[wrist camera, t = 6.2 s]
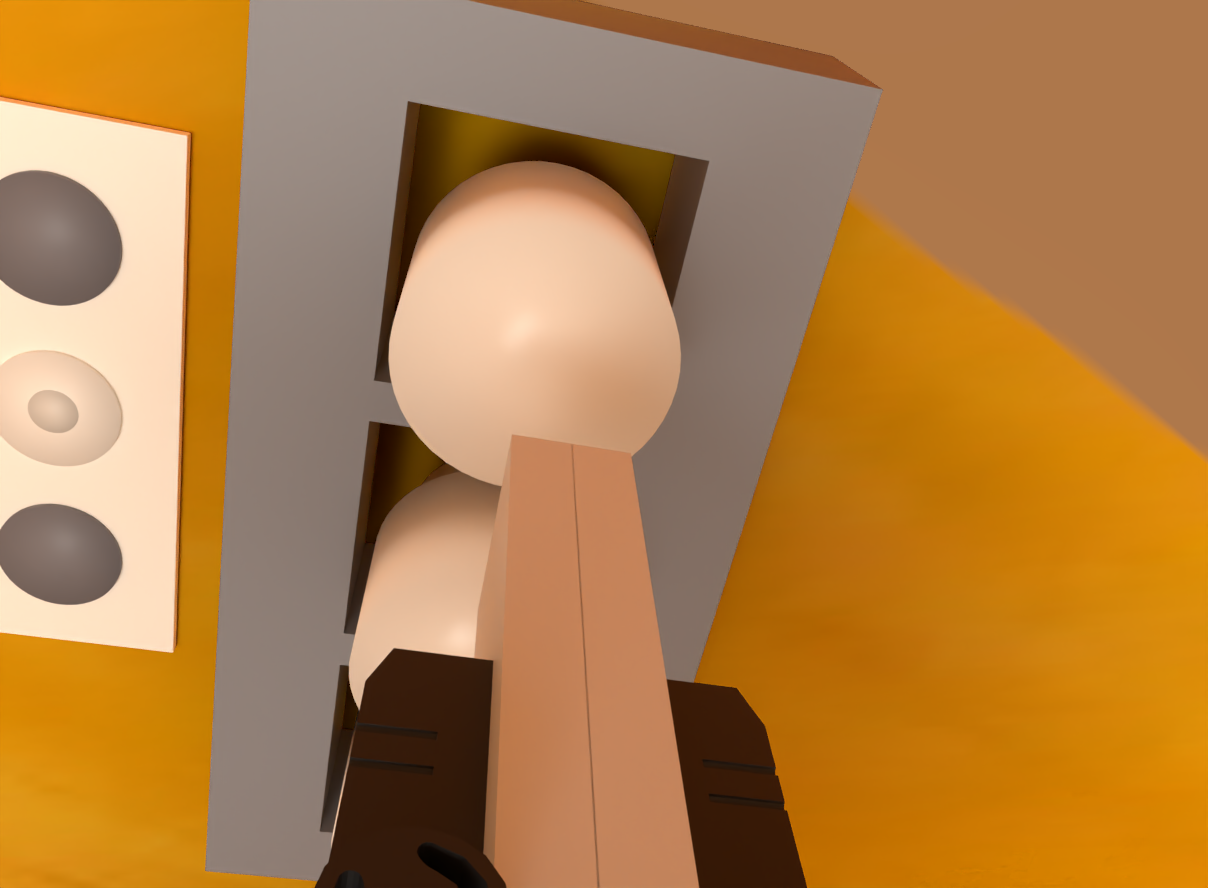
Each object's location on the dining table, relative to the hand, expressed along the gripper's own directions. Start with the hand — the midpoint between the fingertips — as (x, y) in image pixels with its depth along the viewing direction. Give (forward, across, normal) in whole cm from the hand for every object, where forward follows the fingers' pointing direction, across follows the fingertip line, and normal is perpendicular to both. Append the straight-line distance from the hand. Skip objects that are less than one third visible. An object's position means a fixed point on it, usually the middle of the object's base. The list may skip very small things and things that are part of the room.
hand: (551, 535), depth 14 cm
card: (+14, -11, -7) cm, 19 cm away
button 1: (+11, 0, 0) cm, 11 cm away
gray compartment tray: (+14, 0, -7) cm, 16 cm away
